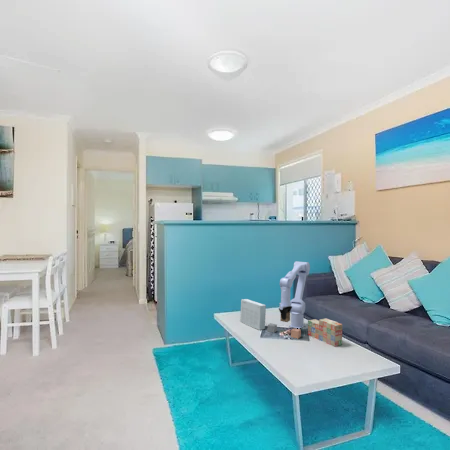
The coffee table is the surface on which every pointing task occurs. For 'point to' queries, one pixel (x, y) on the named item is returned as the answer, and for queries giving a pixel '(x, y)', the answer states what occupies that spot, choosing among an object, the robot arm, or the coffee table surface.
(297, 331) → the terracotta cube
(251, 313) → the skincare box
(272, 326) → the grey cube
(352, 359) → the coffee table surface
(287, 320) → the walnut block
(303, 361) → the coffee table surface
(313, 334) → the stack of blocks
